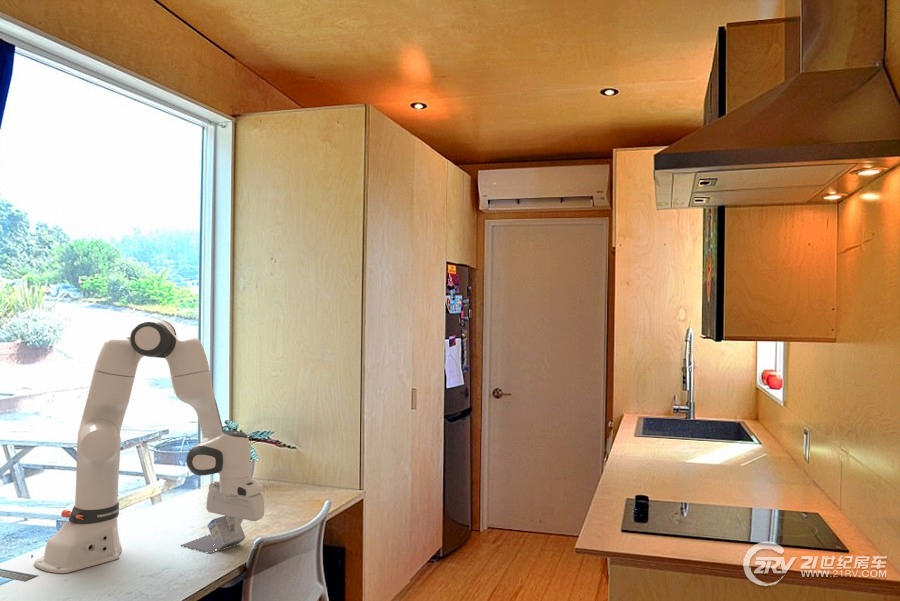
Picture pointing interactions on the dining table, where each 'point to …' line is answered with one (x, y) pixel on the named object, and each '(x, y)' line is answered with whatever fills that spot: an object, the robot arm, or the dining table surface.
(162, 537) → the dining table surface
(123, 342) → the robot arm
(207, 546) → the mat
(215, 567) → the dining table surface
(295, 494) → the dining table surface
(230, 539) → the medicine box
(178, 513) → the dining table surface
